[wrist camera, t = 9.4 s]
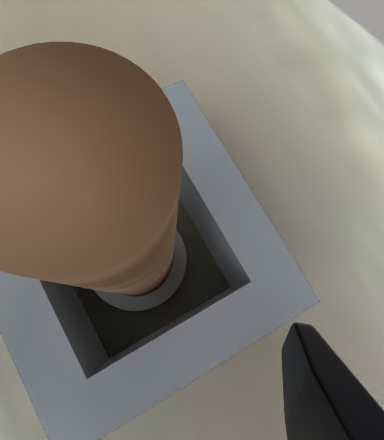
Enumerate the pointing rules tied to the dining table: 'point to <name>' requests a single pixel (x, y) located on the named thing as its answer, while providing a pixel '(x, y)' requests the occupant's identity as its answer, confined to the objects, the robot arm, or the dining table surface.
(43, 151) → the cleaning tool
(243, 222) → the tool holder
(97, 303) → the dining table surface
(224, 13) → the dining table surface
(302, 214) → the dining table surface
